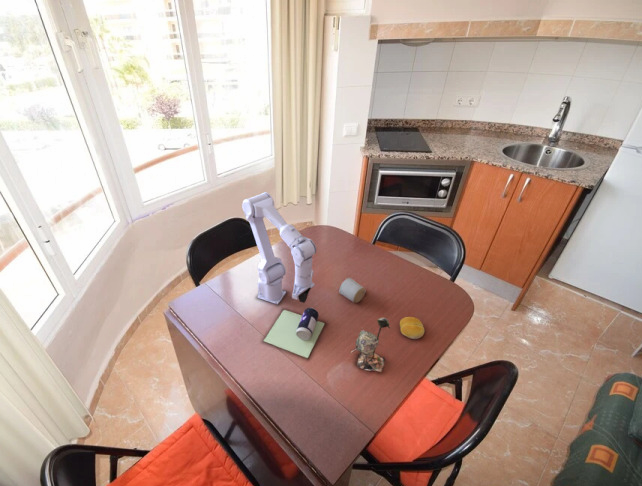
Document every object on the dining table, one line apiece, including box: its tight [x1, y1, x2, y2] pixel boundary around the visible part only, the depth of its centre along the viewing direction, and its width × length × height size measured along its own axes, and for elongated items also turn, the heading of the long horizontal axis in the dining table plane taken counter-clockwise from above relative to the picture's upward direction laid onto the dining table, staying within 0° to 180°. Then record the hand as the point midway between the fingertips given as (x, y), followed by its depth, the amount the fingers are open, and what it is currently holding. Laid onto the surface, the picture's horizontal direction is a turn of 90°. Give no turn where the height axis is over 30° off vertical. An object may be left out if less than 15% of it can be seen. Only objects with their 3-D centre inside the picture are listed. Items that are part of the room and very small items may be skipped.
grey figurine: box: [350, 317, 391, 373], centre depth 102 cm, size 8×11×20 cm
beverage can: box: [297, 307, 320, 340], centre depth 118 cm, size 6×6×12 cm
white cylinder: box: [338, 277, 367, 304], centre depth 131 cm, size 11×8×8 cm
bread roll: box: [399, 316, 425, 340], centre depth 116 cm, size 8×9×4 cm
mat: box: [263, 309, 325, 359], centre depth 118 cm, size 17×17×1 cm
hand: (302, 301), depth 118 cm, fingers closed
